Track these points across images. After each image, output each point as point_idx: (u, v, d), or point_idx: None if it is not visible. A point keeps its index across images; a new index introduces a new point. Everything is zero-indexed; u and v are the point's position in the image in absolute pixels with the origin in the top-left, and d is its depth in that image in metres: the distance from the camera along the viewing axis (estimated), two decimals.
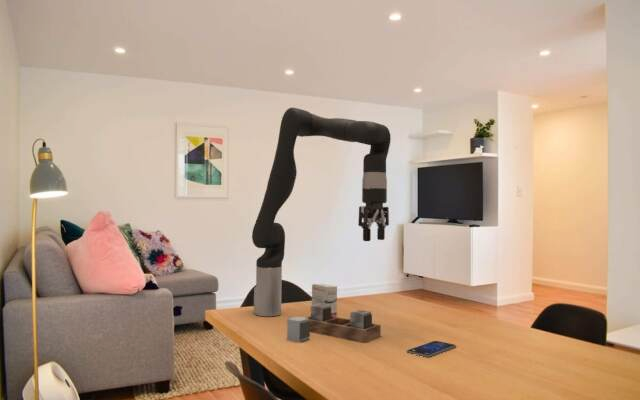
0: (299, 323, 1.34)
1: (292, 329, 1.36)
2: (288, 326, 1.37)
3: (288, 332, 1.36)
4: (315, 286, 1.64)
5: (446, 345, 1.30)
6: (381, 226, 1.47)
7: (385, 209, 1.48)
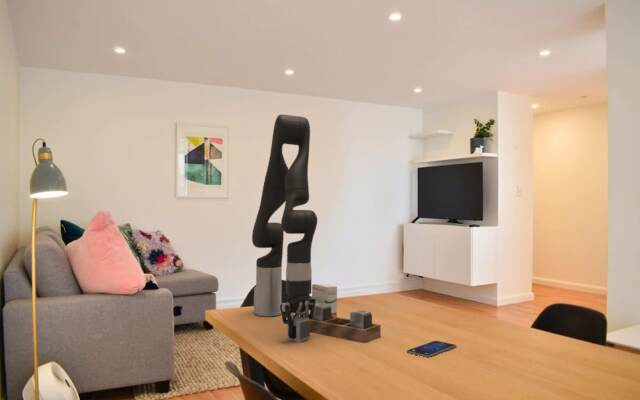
0: (299, 323, 1.34)
1: None
2: (288, 326, 1.37)
3: None
4: (315, 286, 1.64)
5: (446, 345, 1.30)
6: None
7: (312, 301, 1.41)
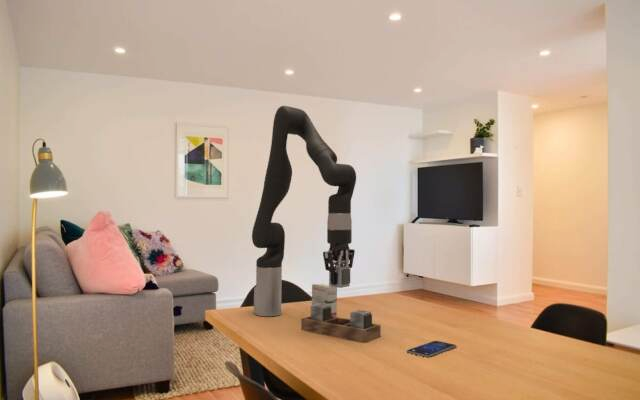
0: (341, 270, 1.42)
1: None
2: None
3: None
4: (315, 286, 1.64)
5: (446, 345, 1.30)
6: None
7: (351, 251, 1.49)
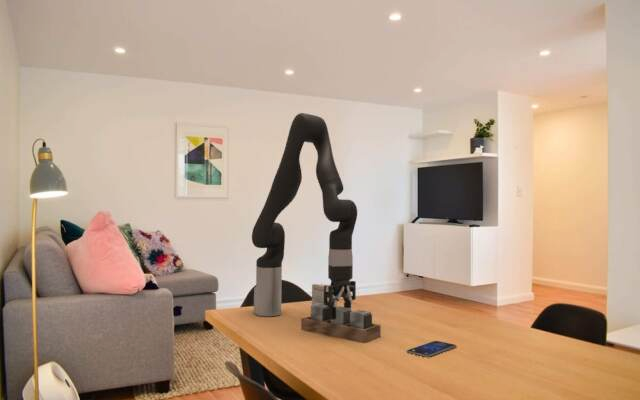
0: (343, 312, 1.42)
1: None
2: None
3: (332, 321, 1.44)
4: (315, 286, 1.64)
5: (446, 345, 1.30)
6: (347, 301, 1.48)
7: (352, 283, 1.49)
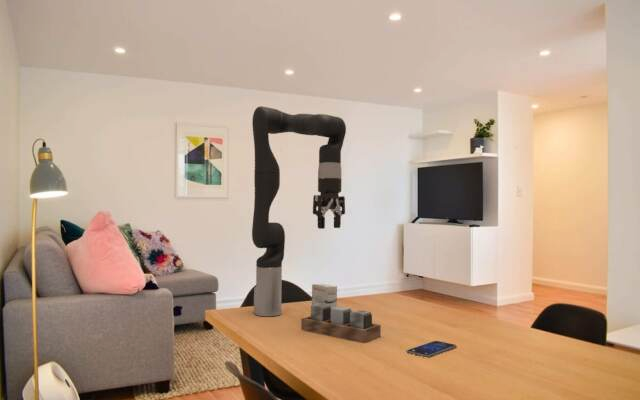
0: (343, 312, 1.42)
1: (335, 318, 1.43)
2: (331, 316, 1.44)
3: (332, 321, 1.44)
4: (315, 286, 1.64)
5: (446, 345, 1.30)
6: (337, 215, 1.53)
7: (341, 198, 1.54)
